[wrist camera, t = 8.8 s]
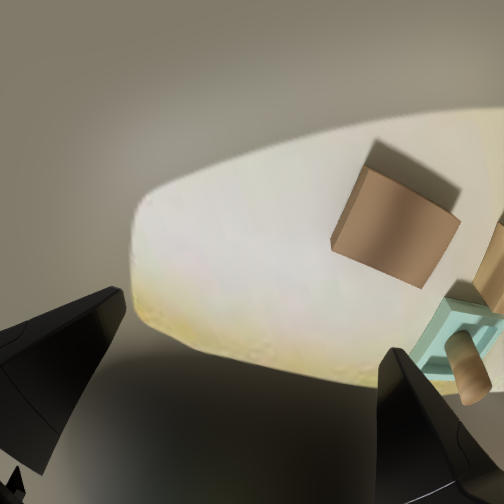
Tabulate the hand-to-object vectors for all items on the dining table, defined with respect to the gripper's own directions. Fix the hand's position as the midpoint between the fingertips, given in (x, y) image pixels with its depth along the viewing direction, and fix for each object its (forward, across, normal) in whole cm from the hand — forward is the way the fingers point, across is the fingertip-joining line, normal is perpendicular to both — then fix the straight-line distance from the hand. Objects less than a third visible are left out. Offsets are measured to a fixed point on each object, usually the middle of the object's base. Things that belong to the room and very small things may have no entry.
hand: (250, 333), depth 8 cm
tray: (+12, -20, +9) cm, 25 cm away
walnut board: (+13, -8, 0) cm, 15 cm away
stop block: (+12, -19, 0) cm, 23 cm away
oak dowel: (+12, -20, +9) cm, 25 cm away
